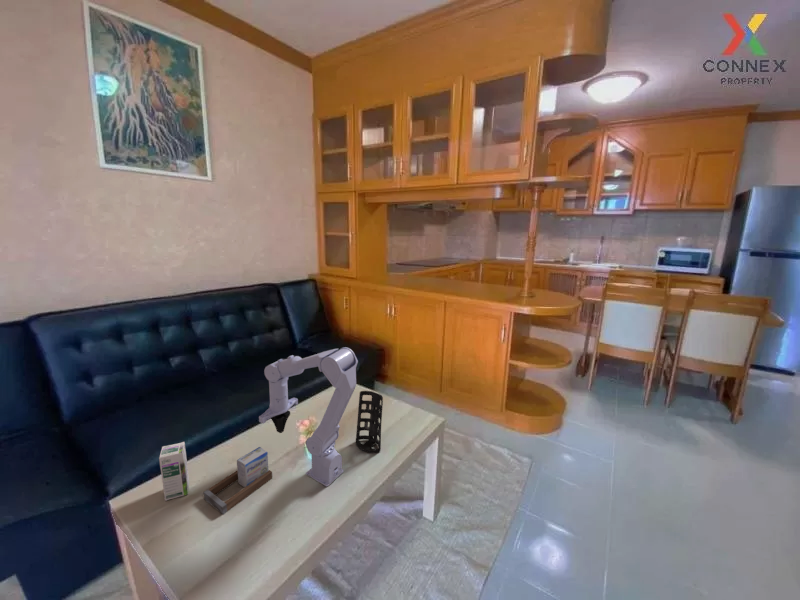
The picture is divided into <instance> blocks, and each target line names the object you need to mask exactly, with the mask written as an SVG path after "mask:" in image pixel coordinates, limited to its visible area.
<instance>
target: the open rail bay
mask: <svg viewBox="0 0 800 600" xmlns="http://www.w3.org/2000/svg"><path fill="white" fill-rule="evenodd" d="M268 470H269V469H268ZM272 479H273V471H272V470H271V469H270V470H269V471H268V472H266V473H265V474H263V475H262V476H260V477H259V478H258V479H256V480H255V481H253V482H252V483H251V484H249V485H248V486H246V487H245V488H244V487H243V488H242V489H240V490H239V491H238V492H236V493H235V494H234V495H232V496H231V497H229V498H228V499H227V500H225V501H223V500H221V498H219V497H218V496H217V495H218V494H219V493H221V492H222V491H224V490H225V489H227V488H228V487H229V486H232V484H234V483H236V482H237V481H238V470H237V469H236V470H235V471H234V472H232V473H230V474H229V475H227V476H226V477H224V478H222V479H221V480H220V481H218V482H217V483H215V484H214V485H212V486H210V487H209V488H208V489H206V490H205V491H203V499H204V500H205V501H206V502H207V503H209V504H210V505H211V506H212V507H213V508H214V509H216V511H218V512H219V513H220V514H221V515H225V514H226V513H227V512H229V511H230V510H231V509H233V508H234V507H236V506H237V505H238V504H240V503H241V502H243V500H245V499H246V498H248V497H249V496H250V495H252V494H253V493H255V492H256V491H257V490H258V489H261V487H263V486H264V485H265V484H267V483H268V482H270V480H272Z"/></svg>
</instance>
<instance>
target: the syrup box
mask: <svg viewBox="0 0 800 600" xmlns="http://www.w3.org/2000/svg"><path fill="white" fill-rule="evenodd" d="M158 459H159V468H160V474H161V480H162V487H163V496H164V501H165V502H166V501H168V500H169V501H170V500H172V499H177V498H180V497H183V496H187V495H188V493H189V485H190V477H189V469H188V460H187V451H186V443H185V441H182V442H179V443H174V444H168V445H163V446H161V450H160V454H159V457H158Z"/></svg>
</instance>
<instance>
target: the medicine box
mask: <svg viewBox="0 0 800 600" xmlns="http://www.w3.org/2000/svg"><path fill="white" fill-rule="evenodd" d="M236 466H237V469H236V471H237V470H238V480H237V481H238V484H239V485H240V486H242V487H243V488H245V487H246V486H248V485H249V484H251V483H252V482H253V481H255V480H256V479H258V478H259V477H260V476H262V475H263V474H265V473H266V472H268V471H269V456H268V451H267V450H265V449H264V448H262V446H258V447H257V448H255V449H253V450H252V451H249V452H248V453H247V454H245V455H242V456H241V457H240V458H238V459H236Z"/></svg>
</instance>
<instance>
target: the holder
mask: <svg viewBox="0 0 800 600" xmlns="http://www.w3.org/2000/svg"><path fill="white" fill-rule="evenodd" d="M364 396H370V397H371V400H363V397H364ZM358 397H359V398H358V409H357V419H356V420H357V422H356V431H355V432H356V435H355V436H356V437H355V445H356V447H358V449H360V450H362V451H364V452H368V453H371V454H373V453H374V454H377V453H380V452H381V447H382V445H381V444H382V443H381V441H382V439H381V438H382V419H383V405H384V397H383V395H382V394H379V393H377V392H376V391H375V392H374V391H372V390H371V391H370V390H361V391H359V396H358ZM363 405H365V409H363V408H362V407H363ZM362 414H369V415H370V416H369V418H368V417H362ZM361 423H364V425H363V426H361ZM368 425H369V426H368ZM361 431H368V434H367V435H365V434H364V435H360V434H361V433H360V432H361ZM361 440H367V441H365V442H364V443H362V442H360V441H361ZM375 445H377V447H378V448H373V447H374V446H375Z"/></svg>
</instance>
